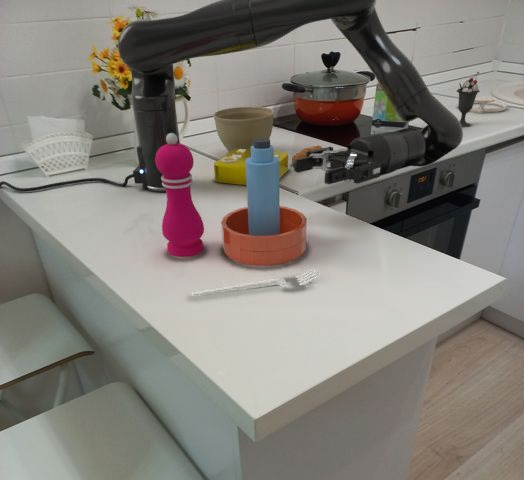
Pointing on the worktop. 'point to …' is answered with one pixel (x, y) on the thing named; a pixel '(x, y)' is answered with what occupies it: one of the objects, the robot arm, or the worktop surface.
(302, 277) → the fork
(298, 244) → the pot
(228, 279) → the worktop surface
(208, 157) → the worktop surface
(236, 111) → the planter bowl
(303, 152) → the pastry
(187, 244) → the pepper mill
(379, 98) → the tea box
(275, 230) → the bottle
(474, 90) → the sundae
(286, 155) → the element tile
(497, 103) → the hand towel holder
